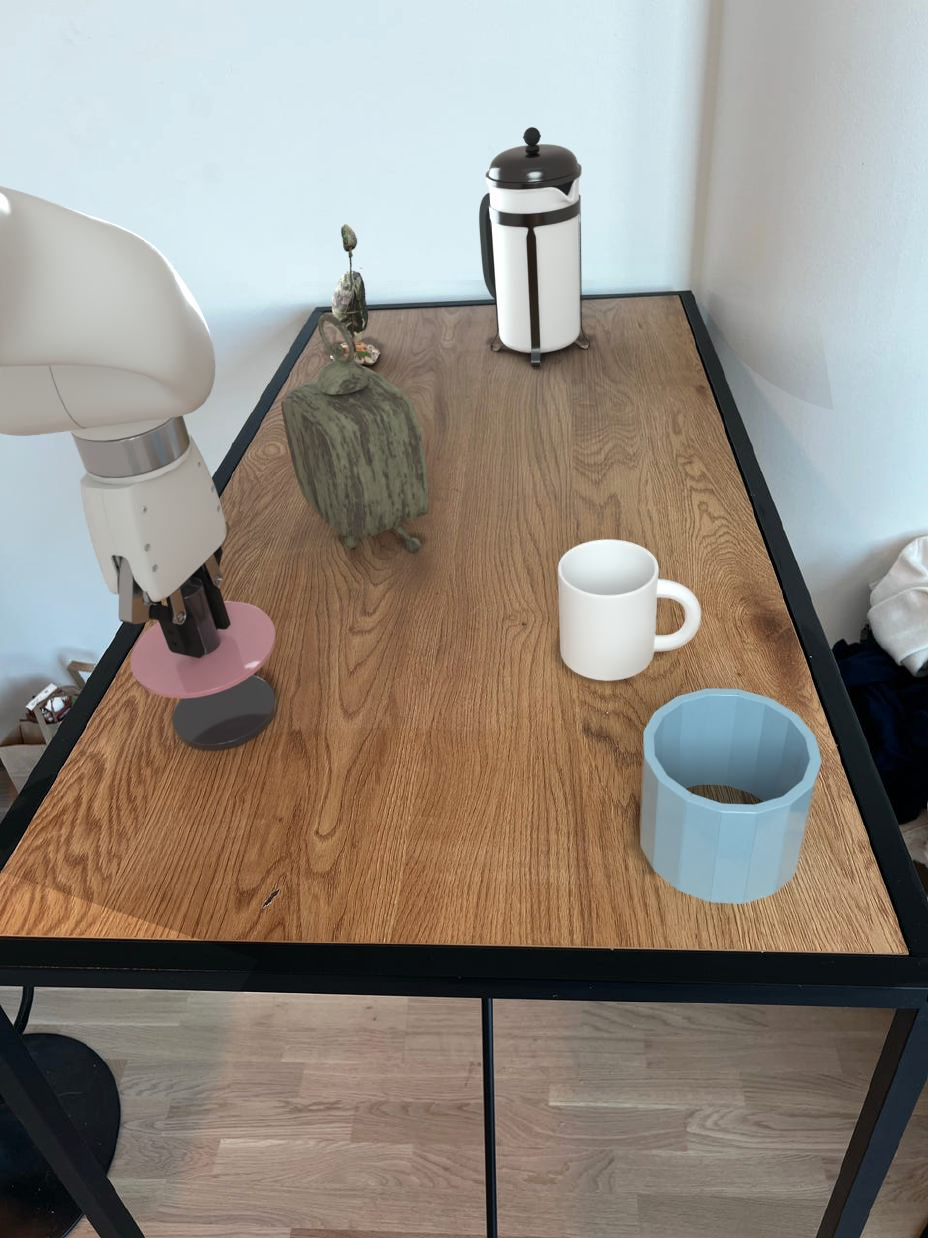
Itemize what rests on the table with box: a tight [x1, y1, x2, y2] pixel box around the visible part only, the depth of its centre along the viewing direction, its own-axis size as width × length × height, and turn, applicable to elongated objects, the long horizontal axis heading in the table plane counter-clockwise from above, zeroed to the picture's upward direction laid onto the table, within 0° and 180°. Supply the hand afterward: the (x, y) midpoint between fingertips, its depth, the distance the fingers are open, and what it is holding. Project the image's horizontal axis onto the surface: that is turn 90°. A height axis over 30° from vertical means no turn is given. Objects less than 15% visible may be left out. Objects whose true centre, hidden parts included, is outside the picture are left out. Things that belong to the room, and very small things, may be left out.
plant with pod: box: [329, 223, 381, 366], centre depth 138 cm, size 8×11×20 cm
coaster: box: [172, 674, 278, 752], centre depth 83 cm, size 9×9×1 cm
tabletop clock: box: [280, 313, 430, 554], centre depth 95 cm, size 14×9×25 cm, turn 33°
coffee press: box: [478, 126, 591, 367], centre depth 132 cm, size 17×16×30 cm
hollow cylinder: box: [639, 687, 822, 905], centre depth 64 cm, size 11×11×10 cm
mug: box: [557, 538, 702, 682], centre depth 80 cm, size 12×8×10 cm
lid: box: [129, 576, 277, 700], centre depth 77 cm, size 12×12×7 cm
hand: (200, 637), depth 78 cm, fingers closed on lid, 3 cm apart
